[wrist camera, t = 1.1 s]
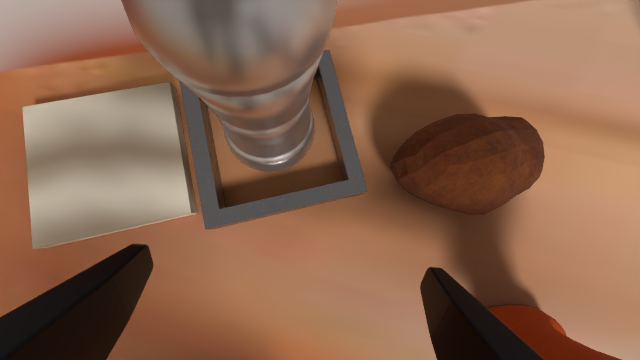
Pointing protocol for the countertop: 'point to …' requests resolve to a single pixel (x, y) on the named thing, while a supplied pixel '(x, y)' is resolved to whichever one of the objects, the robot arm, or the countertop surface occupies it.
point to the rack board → (106, 164)
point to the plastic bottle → (244, 66)
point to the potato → (470, 162)
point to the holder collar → (223, 216)
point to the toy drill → (544, 334)
